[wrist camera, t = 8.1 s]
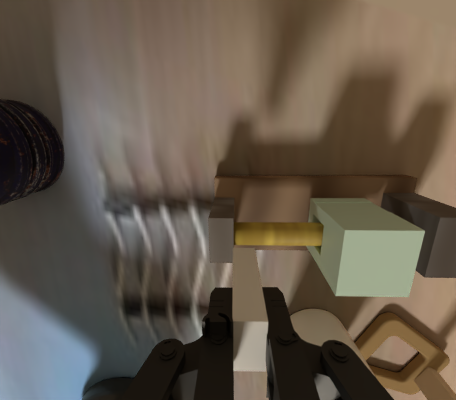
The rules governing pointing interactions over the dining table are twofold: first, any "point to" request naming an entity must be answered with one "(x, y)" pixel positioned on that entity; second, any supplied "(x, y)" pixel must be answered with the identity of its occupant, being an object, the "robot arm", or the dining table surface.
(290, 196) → the rail
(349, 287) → the sleeve
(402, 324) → the headphone stand
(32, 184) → the storage jar
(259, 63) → the dining table surface
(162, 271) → the dining table surface
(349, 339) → the candle holder
